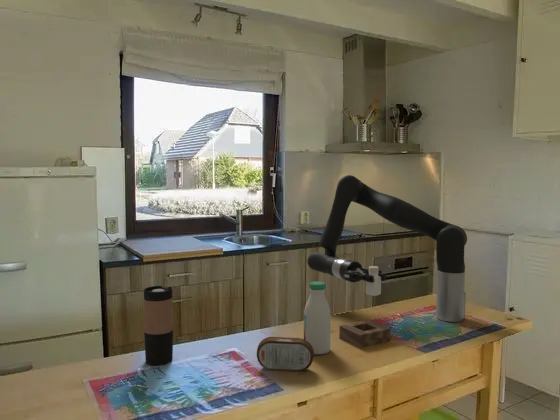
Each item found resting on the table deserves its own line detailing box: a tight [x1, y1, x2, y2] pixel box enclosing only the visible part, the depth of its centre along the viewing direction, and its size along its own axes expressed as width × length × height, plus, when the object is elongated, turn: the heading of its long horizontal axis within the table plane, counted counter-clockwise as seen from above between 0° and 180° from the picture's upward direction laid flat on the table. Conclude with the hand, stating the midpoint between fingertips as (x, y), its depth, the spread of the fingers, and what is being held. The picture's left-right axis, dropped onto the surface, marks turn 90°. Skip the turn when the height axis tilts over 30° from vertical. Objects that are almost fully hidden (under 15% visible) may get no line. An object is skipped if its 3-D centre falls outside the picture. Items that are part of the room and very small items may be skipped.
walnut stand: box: [338, 319, 392, 349], centre depth 145 cm, size 12×10×4 cm
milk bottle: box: [303, 280, 331, 356], centre depth 136 cm, size 8×8×20 cm
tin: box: [256, 336, 315, 372], centre depth 123 cm, size 15×3×8 cm, turn 84°
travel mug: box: [143, 285, 174, 367], centre depth 128 cm, size 8×8×20 cm
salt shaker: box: [365, 265, 382, 297], centre depth 158 cm, size 4×4×10 cm
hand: (379, 278), depth 155 cm, fingers closed on salt shaker, 4 cm apart
